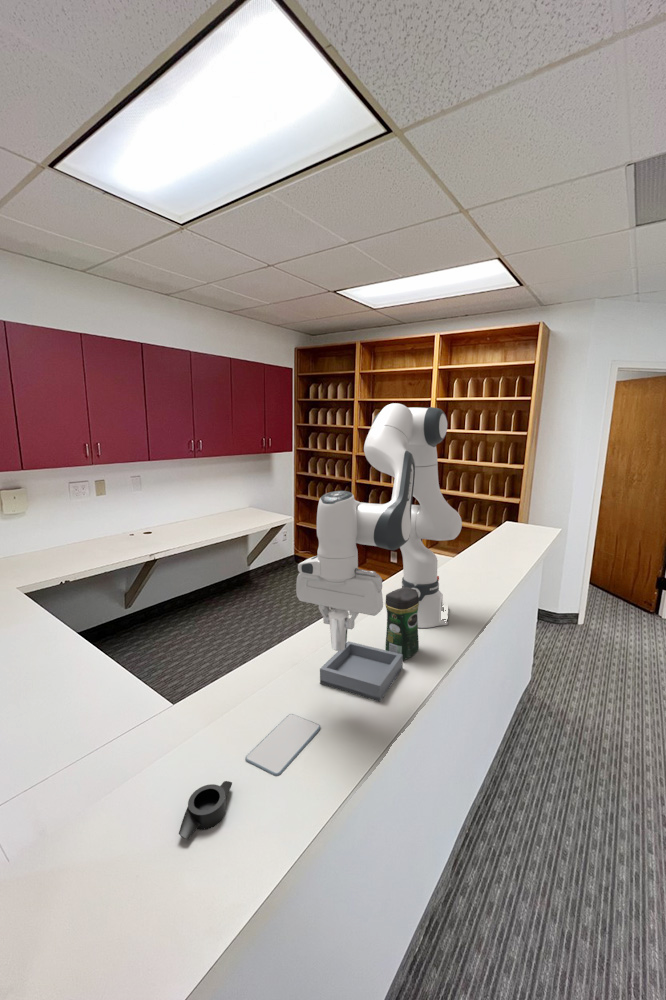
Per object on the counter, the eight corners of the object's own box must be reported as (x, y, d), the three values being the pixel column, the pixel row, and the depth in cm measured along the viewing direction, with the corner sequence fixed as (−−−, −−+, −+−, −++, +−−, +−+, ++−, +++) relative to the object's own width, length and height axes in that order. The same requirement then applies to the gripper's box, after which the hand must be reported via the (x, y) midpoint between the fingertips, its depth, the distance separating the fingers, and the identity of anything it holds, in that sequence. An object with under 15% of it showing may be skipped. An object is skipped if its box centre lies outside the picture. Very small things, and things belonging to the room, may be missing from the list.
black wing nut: (245, 817, 67) (244, 801, 66) (181, 850, 61) (180, 833, 61) (229, 784, 73) (229, 769, 73) (170, 812, 68) (169, 796, 67)
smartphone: (243, 758, 78) (290, 712, 91) (243, 762, 78) (290, 716, 91) (277, 775, 74) (322, 725, 87) (278, 780, 74) (322, 729, 87)
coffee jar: (400, 642, 124) (400, 582, 121) (422, 651, 118) (424, 589, 116) (380, 654, 117) (380, 591, 114) (403, 664, 111) (404, 598, 109)
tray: (348, 654, 117) (348, 641, 116) (402, 668, 109) (402, 654, 109) (320, 683, 103) (319, 668, 102) (379, 702, 95) (379, 686, 95)
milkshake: (334, 639, 96) (334, 599, 95) (353, 646, 93) (352, 604, 92) (322, 647, 93) (321, 605, 91) (340, 654, 90) (340, 611, 88)
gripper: (387, 568, 88) (387, 629, 90) (306, 556, 98) (308, 612, 100) (376, 577, 82) (376, 641, 84) (291, 564, 92) (293, 622, 94)
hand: (338, 625), depth 92 cm, fingers closed on milkshake, 4 cm apart
